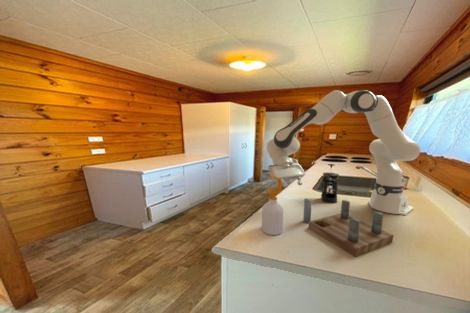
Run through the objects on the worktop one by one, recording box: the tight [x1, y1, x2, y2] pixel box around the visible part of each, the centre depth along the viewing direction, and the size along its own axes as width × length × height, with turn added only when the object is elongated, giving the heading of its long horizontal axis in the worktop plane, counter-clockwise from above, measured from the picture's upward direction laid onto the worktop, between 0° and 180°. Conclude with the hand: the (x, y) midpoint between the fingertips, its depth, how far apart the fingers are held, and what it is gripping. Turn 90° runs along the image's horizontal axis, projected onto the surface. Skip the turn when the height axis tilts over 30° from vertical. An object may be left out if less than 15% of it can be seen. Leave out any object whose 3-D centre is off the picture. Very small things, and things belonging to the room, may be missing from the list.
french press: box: [320, 163, 340, 204], centre depth 121 cm, size 12×9×23 cm
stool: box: [308, 199, 394, 257], centre depth 82 cm, size 22×22×11 cm
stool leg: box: [302, 198, 312, 224], centre depth 94 cm, size 3×3×11 cm
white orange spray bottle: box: [261, 174, 285, 236], centre depth 85 cm, size 9×9×25 cm
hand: (293, 185), depth 102 cm, fingers open, 8 cm apart
